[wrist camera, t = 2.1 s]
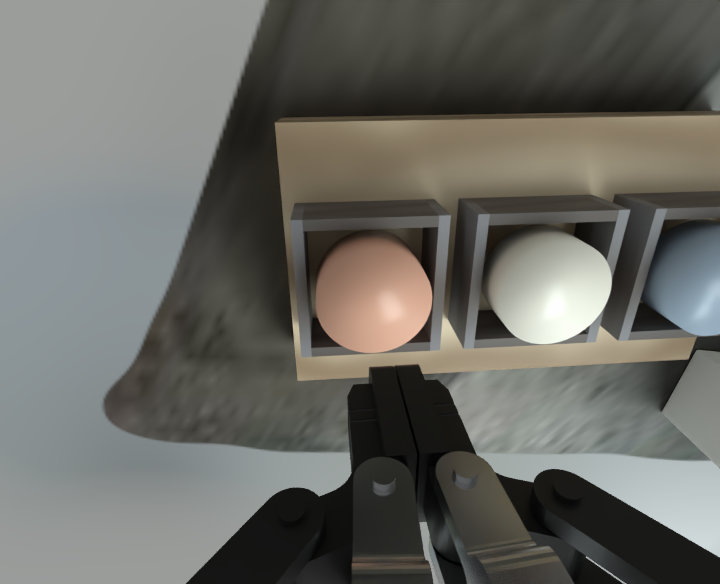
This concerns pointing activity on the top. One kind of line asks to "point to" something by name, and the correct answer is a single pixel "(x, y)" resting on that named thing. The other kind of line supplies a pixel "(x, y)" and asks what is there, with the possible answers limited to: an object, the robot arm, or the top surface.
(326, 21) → the top surface
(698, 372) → the milk
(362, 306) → the terracotta button
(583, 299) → the cream button
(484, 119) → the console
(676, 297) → the slate blue button
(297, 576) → the robot arm
